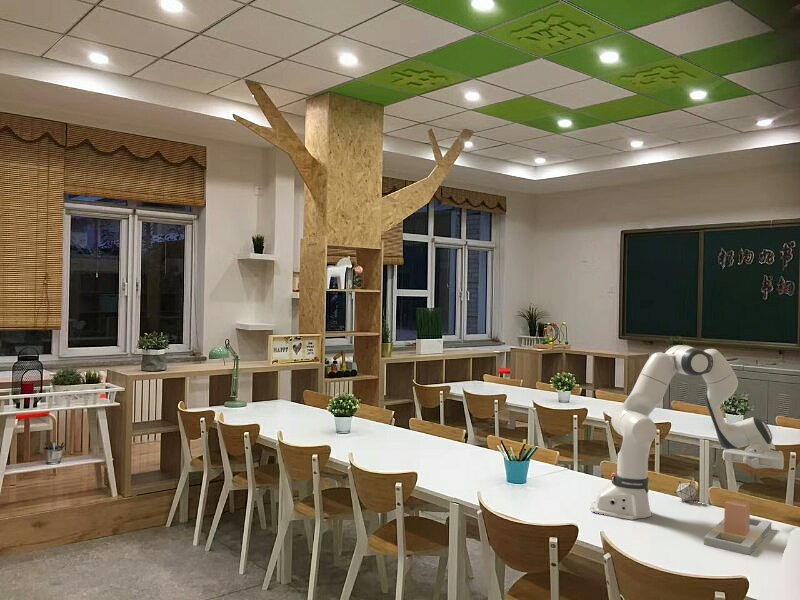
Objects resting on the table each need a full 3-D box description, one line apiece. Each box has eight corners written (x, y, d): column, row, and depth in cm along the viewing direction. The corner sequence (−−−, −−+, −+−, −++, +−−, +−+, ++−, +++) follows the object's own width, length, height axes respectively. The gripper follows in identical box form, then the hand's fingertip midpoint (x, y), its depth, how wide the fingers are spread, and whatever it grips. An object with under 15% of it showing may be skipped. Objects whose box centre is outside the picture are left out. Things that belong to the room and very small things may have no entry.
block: (728, 527, 237) (729, 498, 237) (749, 531, 233) (749, 502, 233) (724, 531, 232) (724, 502, 232) (744, 536, 228) (745, 506, 228)
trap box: (729, 520, 253) (729, 513, 253) (771, 528, 244) (771, 521, 244) (703, 544, 226) (703, 537, 226) (749, 555, 218) (749, 547, 218)
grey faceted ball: (687, 509, 278) (696, 488, 281) (696, 507, 270) (706, 485, 273) (667, 497, 280) (677, 476, 283) (676, 495, 272) (685, 473, 275)
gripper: (727, 443, 263) (718, 449, 252) (787, 451, 250) (780, 458, 239) (727, 459, 263) (717, 465, 252) (786, 469, 250) (779, 475, 239)
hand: (748, 462), depth 245 cm, fingers closed
